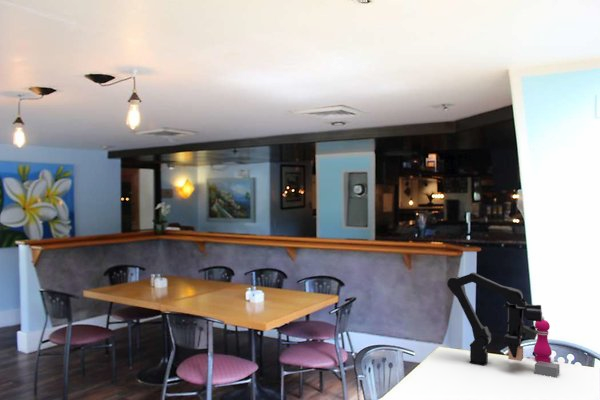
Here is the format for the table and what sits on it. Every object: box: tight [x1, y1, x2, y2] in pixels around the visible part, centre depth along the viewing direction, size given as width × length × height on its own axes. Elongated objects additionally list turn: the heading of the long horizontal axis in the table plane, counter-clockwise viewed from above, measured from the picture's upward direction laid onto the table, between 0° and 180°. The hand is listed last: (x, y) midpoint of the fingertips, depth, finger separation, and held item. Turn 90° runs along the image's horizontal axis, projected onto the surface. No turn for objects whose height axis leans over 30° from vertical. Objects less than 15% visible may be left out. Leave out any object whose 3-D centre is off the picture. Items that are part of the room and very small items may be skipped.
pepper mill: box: [533, 315, 553, 363], centre depth 212 cm, size 7×7×20 cm
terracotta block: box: [507, 345, 524, 362], centre depth 201 cm, size 5×5×5 cm
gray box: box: [534, 361, 560, 379], centre depth 194 cm, size 8×7×4 cm
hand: (515, 356), depth 201 cm, fingers closed on terracotta block, 5 cm apart
